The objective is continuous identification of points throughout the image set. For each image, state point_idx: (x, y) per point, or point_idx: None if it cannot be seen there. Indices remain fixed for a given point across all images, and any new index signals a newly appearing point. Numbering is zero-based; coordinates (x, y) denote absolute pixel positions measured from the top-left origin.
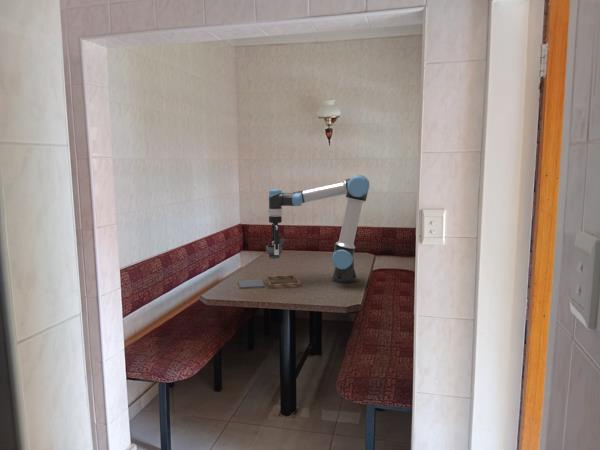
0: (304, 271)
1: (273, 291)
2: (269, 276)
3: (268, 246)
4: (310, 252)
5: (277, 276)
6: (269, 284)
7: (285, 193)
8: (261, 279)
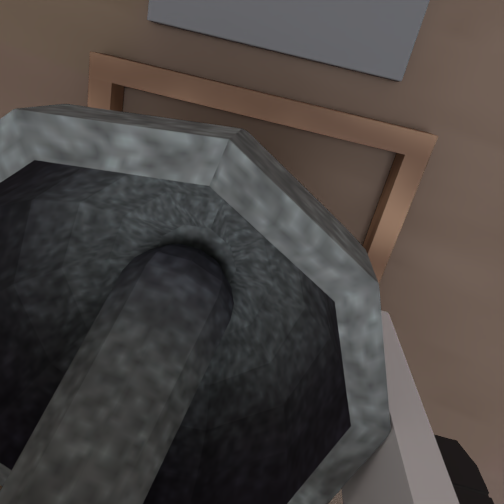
0: (483, 478)
1: (7, 57)
2: (407, 175)
3: (303, 260)
4: None
5: (371, 242)
6: (110, 63)
7: None
8: (394, 79)
